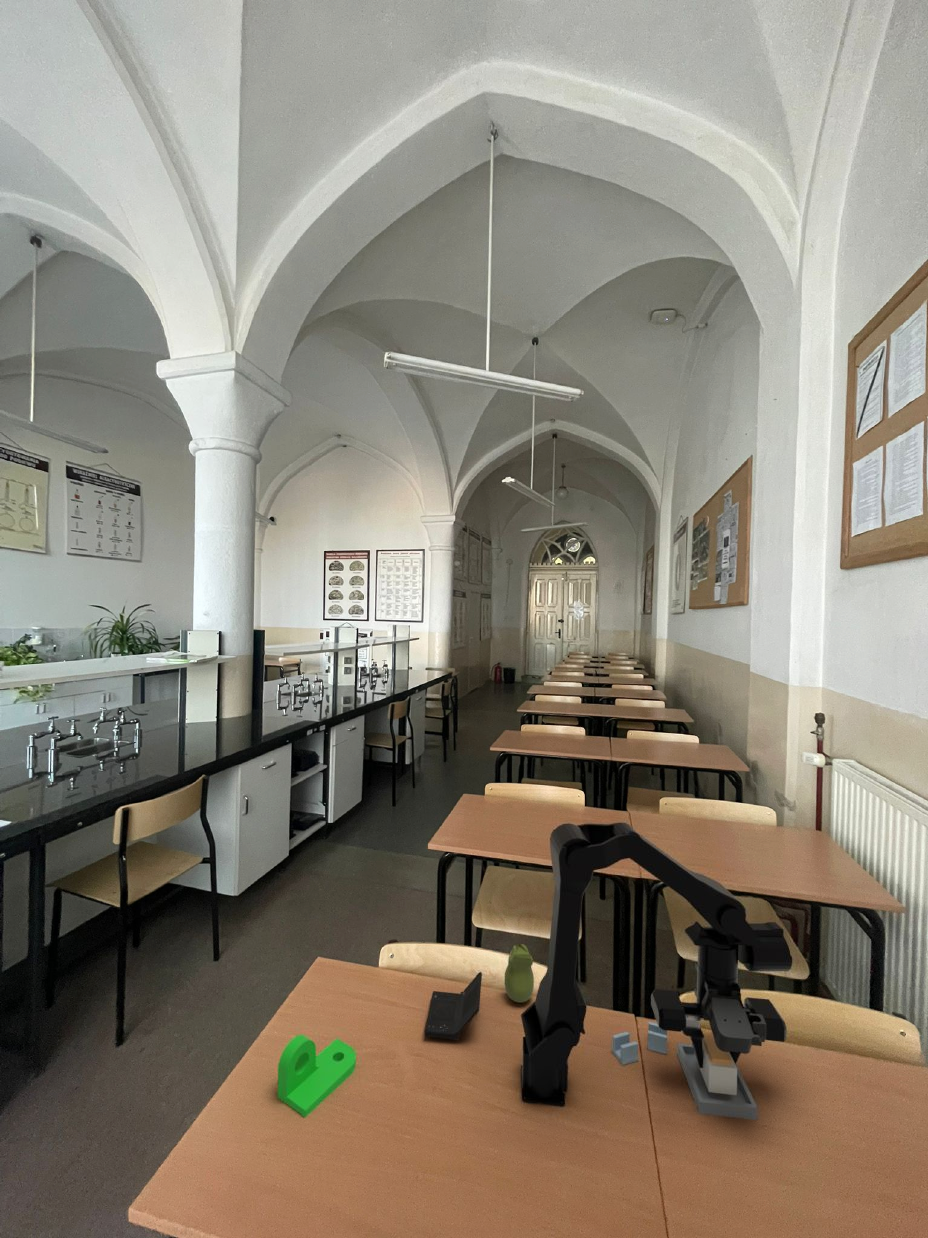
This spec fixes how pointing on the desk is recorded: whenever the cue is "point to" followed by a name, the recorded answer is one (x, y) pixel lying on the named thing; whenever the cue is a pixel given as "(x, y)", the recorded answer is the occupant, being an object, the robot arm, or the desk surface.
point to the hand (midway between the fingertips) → (714, 1067)
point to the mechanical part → (312, 1072)
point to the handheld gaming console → (453, 1011)
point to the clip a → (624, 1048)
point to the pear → (519, 974)
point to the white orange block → (717, 1067)
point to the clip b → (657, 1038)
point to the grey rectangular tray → (715, 1102)
